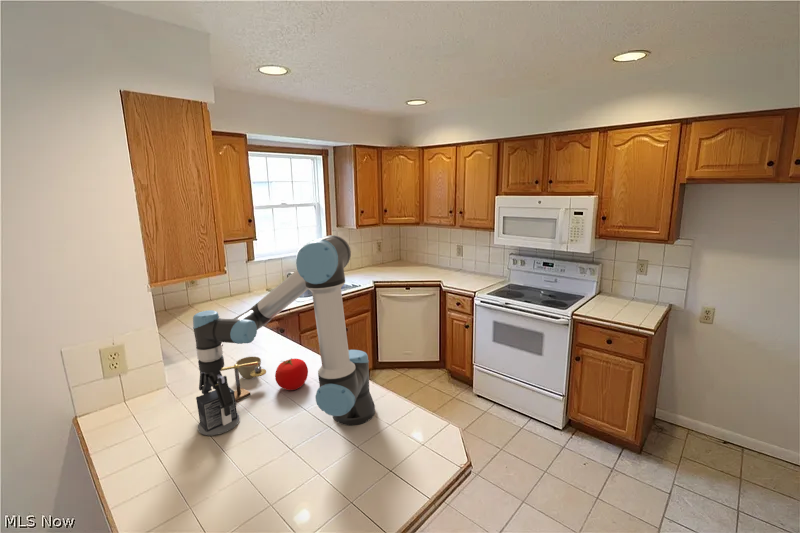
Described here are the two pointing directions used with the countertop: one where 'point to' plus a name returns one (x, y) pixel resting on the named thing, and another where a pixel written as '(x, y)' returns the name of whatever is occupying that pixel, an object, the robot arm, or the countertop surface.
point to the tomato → (291, 374)
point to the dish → (219, 428)
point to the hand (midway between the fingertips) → (218, 416)
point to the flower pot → (248, 369)
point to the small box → (213, 410)
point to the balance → (240, 392)
